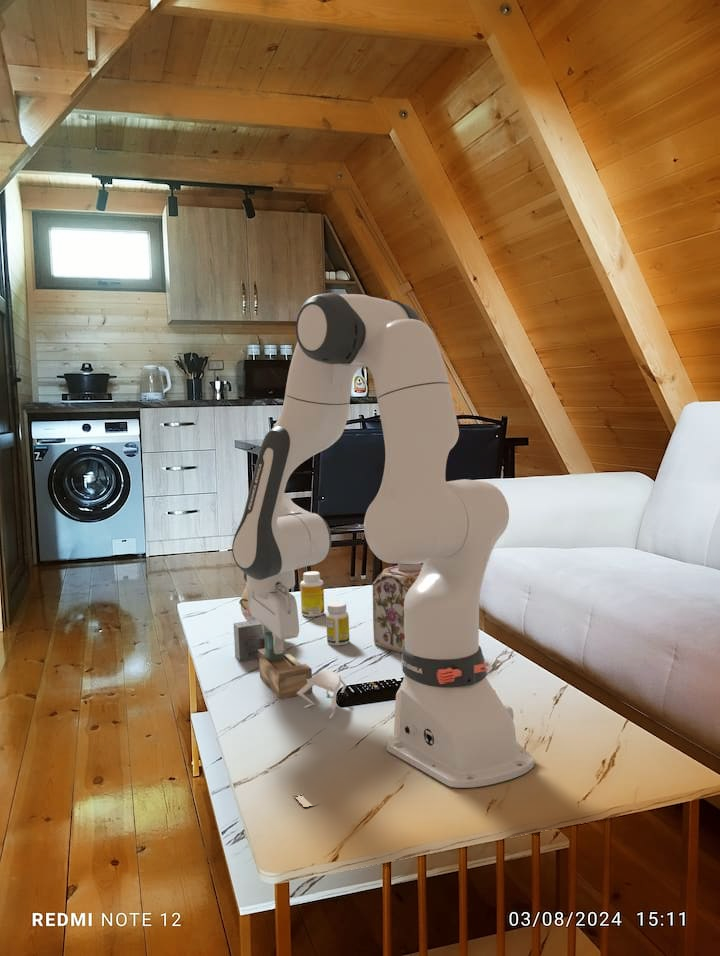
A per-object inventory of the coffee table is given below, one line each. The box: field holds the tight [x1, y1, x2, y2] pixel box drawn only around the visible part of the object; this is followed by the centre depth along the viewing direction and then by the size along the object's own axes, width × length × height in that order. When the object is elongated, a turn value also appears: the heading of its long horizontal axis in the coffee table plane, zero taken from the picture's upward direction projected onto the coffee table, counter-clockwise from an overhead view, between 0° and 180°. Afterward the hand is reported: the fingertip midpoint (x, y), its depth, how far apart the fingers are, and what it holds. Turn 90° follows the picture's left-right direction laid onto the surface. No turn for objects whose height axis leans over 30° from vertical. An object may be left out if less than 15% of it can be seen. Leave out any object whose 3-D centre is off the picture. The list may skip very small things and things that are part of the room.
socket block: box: [233, 620, 265, 662], centre depth 159 cm, size 4×8×7 cm, turn 114°
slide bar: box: [257, 632, 293, 669], centre depth 146 cm, size 16×3×7 cm, turn 24°
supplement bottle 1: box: [299, 570, 325, 618], centre depth 188 cm, size 6×6×10 cm
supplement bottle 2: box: [325, 601, 350, 646], centre depth 166 cm, size 5×5×8 cm
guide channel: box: [258, 653, 313, 700], centre depth 142 cm, size 12×6×4 cm, turn 24°
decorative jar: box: [372, 563, 423, 654], centre depth 162 cm, size 12×12×18 cm
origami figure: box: [296, 667, 347, 719], centre depth 131 cm, size 12×8×5 cm
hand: (274, 649), depth 147 cm, fingers closed on slide bar, 3 cm apart
